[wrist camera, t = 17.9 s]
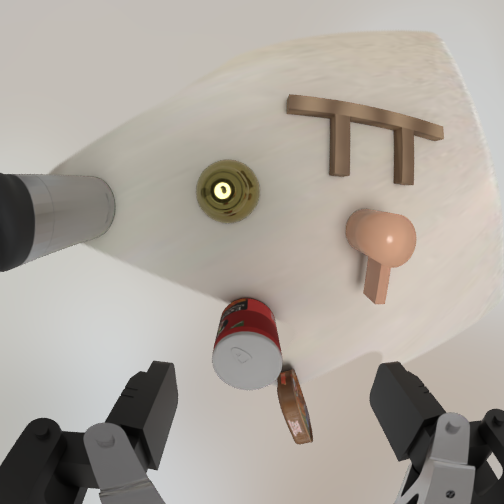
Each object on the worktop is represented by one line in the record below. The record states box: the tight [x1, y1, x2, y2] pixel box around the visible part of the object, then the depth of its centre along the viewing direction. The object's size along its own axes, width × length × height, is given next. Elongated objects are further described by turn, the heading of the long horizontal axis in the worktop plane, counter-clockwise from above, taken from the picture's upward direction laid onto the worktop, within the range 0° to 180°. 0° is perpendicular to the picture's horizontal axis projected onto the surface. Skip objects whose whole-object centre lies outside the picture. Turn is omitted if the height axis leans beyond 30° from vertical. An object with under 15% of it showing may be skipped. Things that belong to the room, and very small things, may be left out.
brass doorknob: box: [196, 160, 260, 223], centre depth 31 cm, size 7×7×10 cm
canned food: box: [212, 298, 282, 390], centre depth 34 cm, size 8×8×11 cm
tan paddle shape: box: [346, 209, 416, 304], centre depth 33 cm, size 11×6×9 cm, turn 178°
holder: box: [287, 94, 444, 185], centre depth 33 cm, size 24×10×2 cm, turn 88°
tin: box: [277, 369, 313, 444], centre depth 38 cm, size 15×3×8 cm, turn 18°
